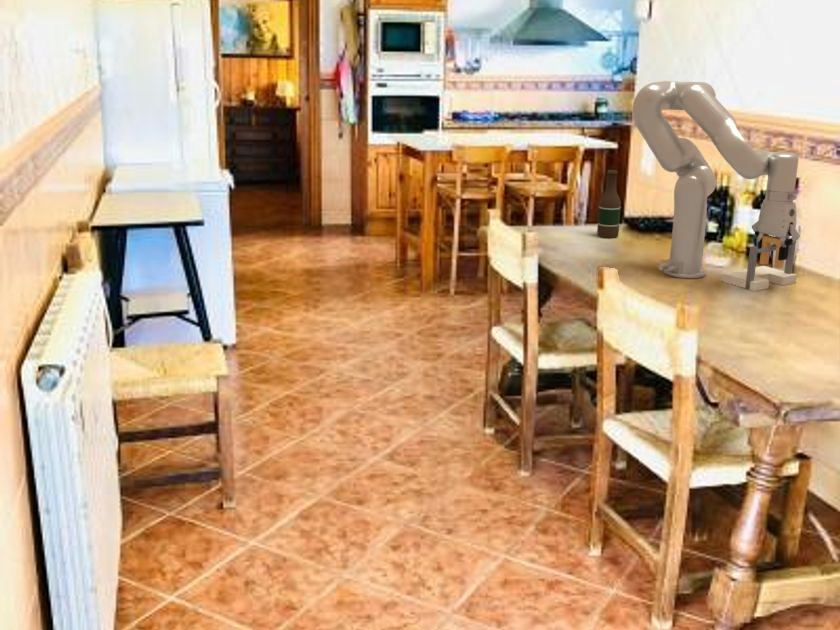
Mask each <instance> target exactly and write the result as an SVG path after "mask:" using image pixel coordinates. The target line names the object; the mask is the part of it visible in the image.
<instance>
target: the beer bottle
mask: <svg viewBox="0 0 840 630" xmlns="http://www.w3.org/2000/svg"><path fill="white" fill-rule="evenodd" d="M606 174H607V175H606V177H607V178H606V182H605V189H604V193H603V194H602V196H601V198H600V200H599V204H598V212H597V213H598V217H597V231H596V235H597V237H599V238H601V239H609V240H610V239H617V238H618V236H619V231H620V220H621V208H622V206H621V198H620V196H619V194H618V193H617V192H618V191H617V174H618V170H616V169H608V170H607V172H606Z"/></svg>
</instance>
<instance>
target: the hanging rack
mask: <svg viewBox="0 0 840 630" xmlns="http://www.w3.org/2000/svg"><path fill="white" fill-rule="evenodd" d="M796 244H797V240H796V241H795V242H794V243H793V244H792V245H791V246H789V251H788V257H787V259H786V263H785V271H781V270H778V269H774V268H773V267H770V266H766V265H760V266H757V260H758V259H757V258H758V255H757V253H762V252H768V251H770V252H773V251H774V250H776V248H777V245H775V246H770V247H767V248H761V249H758V246H755V245H753V246H752V245H751V246H749V254H748V263H747V268H744V269H738V270H733V271H729V272H727V271H726V272H722V276H721V282H722V281H723V283H726V284H729V285H732V284H733V286H735V285H736V287H739V286H740V288H742V287H743V289H745V288H746V290H749V291H752V292H757V291H763V290H768V289H769V286H770V283H773V284H776V285H780V286H785V285H791V284H796V282H797V275H798V274H796V273H793V268H794V267H793V266H794V263H793V261H794V262H795V259H794V254H795V249H796Z"/></svg>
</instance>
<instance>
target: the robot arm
mask: <svg viewBox="0 0 840 630" xmlns="http://www.w3.org/2000/svg"><path fill="white" fill-rule="evenodd" d="M632 102H633V103H632V108H631V111H632V112H631V113H632V115H631V116H632V119H633V122H634V124H635V126H636V128H637V130H638V132H639V133H640V135H641V136H642V137H643V139H644V140H645V142H646V145H647V146H648V148H649V149H650V151H651V152H652V154H653V155H654V157H655V158H656V160H657V162H658V163H659V165H660V166H661V168H662V169H663V170H664V171H666V172H669V173H676V175H677V176H678V179H677V180H676V182H675V185H674V191H673V201H674V203H673V220H672V233H671V242H670V243H671V245H670V255H669V258H667V260H666V262H665V263H660V264H658V266H657V268H658V270H660V271H663V273H664V274H666V275H667V276H669V277H675V278H682V279H699V278H702V277H705V276H706V275H707V270H706V269H705V268H702V265H703V264H702V263H703V255H704V245H705V236H706V235H705V234H706V226H707V213H708V211H707V210H708V209H707V208H708V197H709V196H710V195H711V194H713V192H714V191H715V189H716V187H717V177H716V174H715V172H714V171H713V169H712V168H711V167H710V164H709V163H708V162H707V160H706V159H705V157H704V156H703V154H702V153H701V151H700V150H699V149H698V147H697V145H696V144H695V143H694V142H693V141H692V140H690V139H688V138H685V137H680V136H678V134H677V133H676V131H675V130H674V129H673V127H672V125H671V124H670V122H669V121H668V120H667V119H666V118H665V117H664V115H663V112H662V111H664V110H665V111H668V110H669V111H670V110H673V111H685V113H686V114H687V115H688V116H689V117H690V118H691V119H692V120H693V121H694V122H695V123H696V124H697V126H699V128H701V130H702V131H703V132H704V133H705V134H706V135H707V136H708V137H709V138H710V140H711V142H712V144H713V145H714V146H715V148H716V149H717V151H718V152H719V154H720V156H721V157H723V159H724V160H725V161H726V163H727V164H728V165H729V166H730V167H731V168H732V169H733V170H734V171H735V172H736V174H738V175H739V176H740V177H742V178H744V179H746V180H755V179H757V178H759V177H761V176H767V181H766V190H765V197H764V199H763V201H762V203H761V207H760V210H759V216H758V221H756V222H754V224H752V225H751V229H752V231H753V232H754V235H755V238H756V241H757V242H758V244H757V247H758V249H761V248H762V238H763V236H764V235H770V236H774V237H778V238H780V241H781V245H782V247H780V248H779V256H778V260H780V261H781V260H786V259H787V257H788V251H789V246H791V245H792V244H793V243H794V242H795V241H796V242H797V240H798V239H800V237H801V235H800V233H799V231H797V205H796V203H797V202H795V201H796V200H797V198H798V197H797V195H796V194H795V190H796V182H797V175H798V169H799V168H798V166H799V156H798V154H796V153H793V152H787V151H786V152H785V151H779V152H778V151H777V152H774V151H770V150H764V149H753V148H752V147H751V145H749V143H748V142H747V141H746V140H745V139H744V137H743V136H742V134H741V133H740V131H739V129H738V126H737V121H736V118H735V117H734V116H733V114H731V113H730V112H729V110H728V109H726V107H725V106H724V105H723V104H722V103H721V102H720V101H719V100H718V99H717V98H716V91H715V89H714V87H713V86H712V85H711V84H709V83H708V82H703V81H673V80H671V81H668V80H661V81H655V82H651V83H647V84H646V85H644V86H643V87H642V88H640V90H639V91H638V92H637V94H636V96H635V98H634V100H633V101H632ZM785 239H786V242H785ZM760 255H761V253H757V256H760Z"/></svg>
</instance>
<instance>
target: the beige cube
mask: <svg viewBox="0 0 840 630" xmlns="http://www.w3.org/2000/svg"><path fill="white" fill-rule="evenodd" d="M797 251H798V250H797V248H795V254H794V261H793V264H794V263H795V259H796V255H797ZM772 256H773V257H772V268H774V264H775V256H776V250H774V251H772ZM785 263H786V260H784V264H783V268H779V269H778V268H774V269H778V270H781V271H785Z"/></svg>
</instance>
